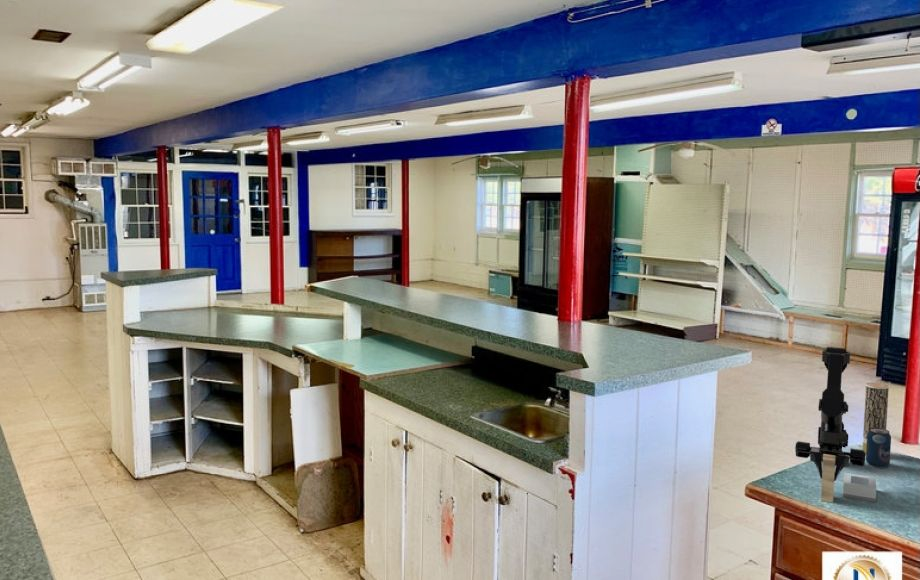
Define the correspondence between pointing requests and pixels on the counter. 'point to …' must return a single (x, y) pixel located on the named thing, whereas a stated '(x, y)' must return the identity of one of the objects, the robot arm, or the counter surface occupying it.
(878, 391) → the bark log
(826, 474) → the slat
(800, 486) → the counter surface
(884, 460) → the soda can
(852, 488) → the end cap
